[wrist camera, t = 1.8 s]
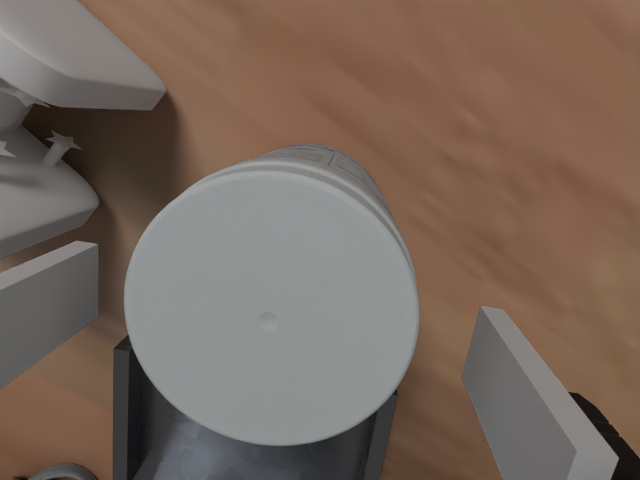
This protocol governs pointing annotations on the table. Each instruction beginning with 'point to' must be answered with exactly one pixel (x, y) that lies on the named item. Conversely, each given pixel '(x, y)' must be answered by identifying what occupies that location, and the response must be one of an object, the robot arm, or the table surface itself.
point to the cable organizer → (63, 91)
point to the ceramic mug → (63, 472)
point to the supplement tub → (275, 298)
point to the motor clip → (226, 440)
